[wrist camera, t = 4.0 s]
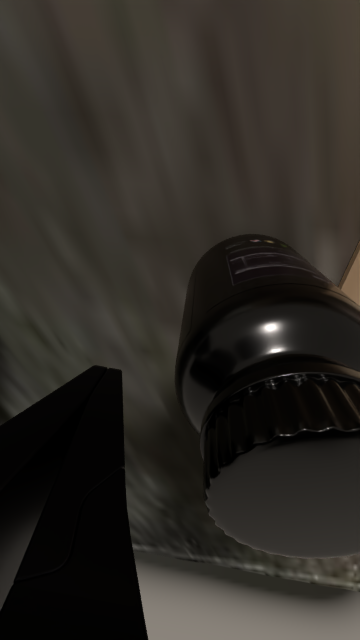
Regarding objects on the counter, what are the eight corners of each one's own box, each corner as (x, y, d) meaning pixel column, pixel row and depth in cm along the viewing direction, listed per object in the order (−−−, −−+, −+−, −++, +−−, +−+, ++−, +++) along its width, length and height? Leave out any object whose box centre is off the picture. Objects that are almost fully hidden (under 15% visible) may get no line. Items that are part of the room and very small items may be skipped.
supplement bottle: (285, 346, 18) (393, 598, 7) (181, 329, 18) (143, 555, 7) (326, 239, 14) (635, 428, 4) (197, 220, 15) (169, 355, 4)
